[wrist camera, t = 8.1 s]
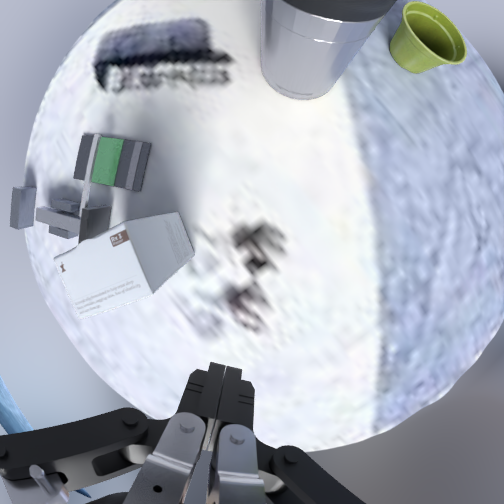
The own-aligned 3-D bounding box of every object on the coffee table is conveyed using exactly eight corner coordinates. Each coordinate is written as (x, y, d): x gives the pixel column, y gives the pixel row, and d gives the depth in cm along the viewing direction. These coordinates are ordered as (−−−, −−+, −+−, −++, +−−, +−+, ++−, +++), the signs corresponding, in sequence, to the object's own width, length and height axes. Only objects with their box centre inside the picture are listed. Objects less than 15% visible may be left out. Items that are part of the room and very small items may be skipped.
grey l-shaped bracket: (59, 133, 29) (36, 129, 24) (125, 139, 29) (104, 132, 24) (44, 231, 32) (21, 238, 27) (105, 251, 32) (83, 261, 27)
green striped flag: (37, 133, 29) (23, 130, 26) (151, 143, 30) (139, 139, 26) (24, 223, 33) (10, 226, 29) (129, 256, 33) (117, 264, 30)
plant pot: (364, 36, 25) (387, 4, 17) (408, 25, 24) (434, -1, 16) (404, 91, 27) (438, 70, 19) (443, 75, 26) (477, 57, 17)
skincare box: (142, 274, 34) (77, 325, 19) (124, 231, 32) (47, 259, 18) (199, 253, 33) (154, 301, 18) (180, 206, 32) (120, 220, 17)
